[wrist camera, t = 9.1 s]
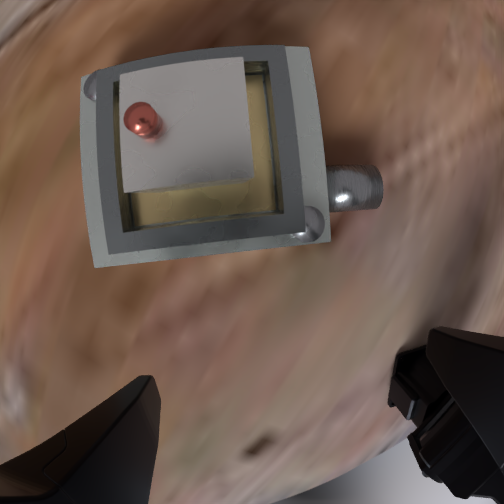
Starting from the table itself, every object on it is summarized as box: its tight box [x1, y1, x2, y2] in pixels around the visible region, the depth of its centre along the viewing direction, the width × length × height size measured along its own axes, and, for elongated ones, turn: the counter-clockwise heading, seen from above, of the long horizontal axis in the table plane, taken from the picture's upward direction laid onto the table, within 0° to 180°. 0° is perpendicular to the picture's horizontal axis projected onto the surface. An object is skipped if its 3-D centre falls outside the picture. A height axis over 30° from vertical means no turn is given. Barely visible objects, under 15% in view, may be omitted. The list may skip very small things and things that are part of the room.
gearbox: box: [80, 45, 383, 268], centre depth 16 cm, size 18×12×6 cm, turn 95°
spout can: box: [119, 57, 254, 193], centre depth 11 cm, size 4×4×7 cm
